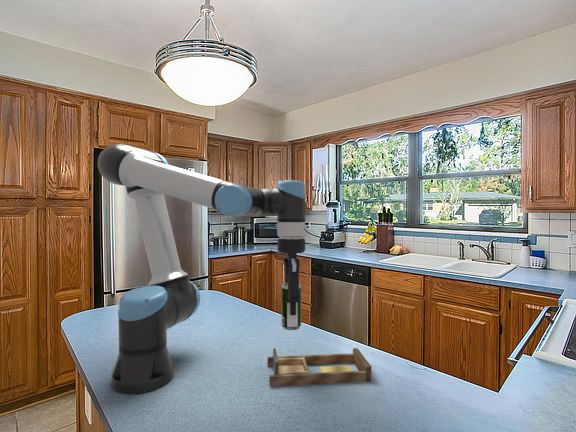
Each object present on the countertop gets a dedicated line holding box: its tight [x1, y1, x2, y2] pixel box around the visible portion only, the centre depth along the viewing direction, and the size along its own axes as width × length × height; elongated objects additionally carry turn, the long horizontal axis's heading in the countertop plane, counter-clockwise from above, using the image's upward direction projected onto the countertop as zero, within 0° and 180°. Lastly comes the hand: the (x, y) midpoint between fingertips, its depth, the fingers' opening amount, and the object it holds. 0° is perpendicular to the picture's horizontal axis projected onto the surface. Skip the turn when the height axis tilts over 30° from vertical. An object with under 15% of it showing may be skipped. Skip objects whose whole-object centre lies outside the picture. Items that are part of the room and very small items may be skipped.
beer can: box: [280, 281, 302, 331], centre depth 93 cm, size 5×5×12 cm
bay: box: [266, 347, 372, 388], centre depth 94 cm, size 27×12×4 cm, turn 96°
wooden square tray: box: [272, 347, 310, 375], centre depth 94 cm, size 9×9×5 cm
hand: (291, 322), depth 93 cm, fingers closed on beer can, 5 cm apart
